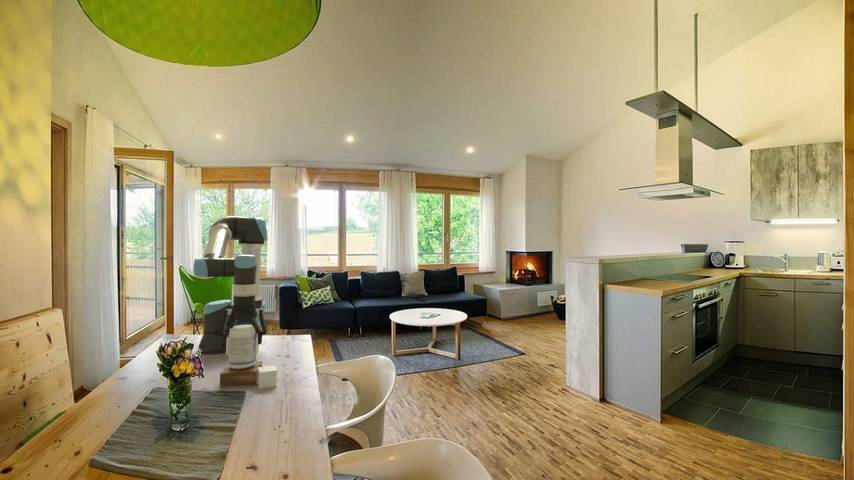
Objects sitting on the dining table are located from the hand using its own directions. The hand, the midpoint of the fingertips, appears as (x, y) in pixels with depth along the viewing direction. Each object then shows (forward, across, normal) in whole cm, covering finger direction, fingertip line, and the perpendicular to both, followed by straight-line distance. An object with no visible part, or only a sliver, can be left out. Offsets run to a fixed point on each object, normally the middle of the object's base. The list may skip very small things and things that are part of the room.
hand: (242, 353), depth 142 cm
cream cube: (+10, +10, -6) cm, 16 cm away
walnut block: (+10, 0, 0) cm, 10 cm away
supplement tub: (+5, 0, 0) cm, 5 cm away
